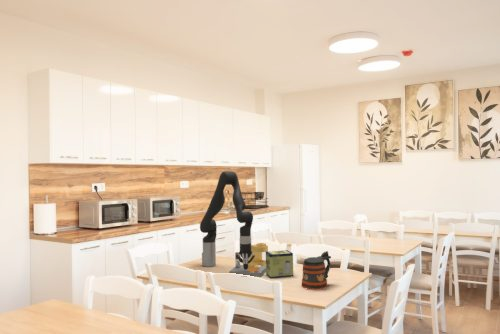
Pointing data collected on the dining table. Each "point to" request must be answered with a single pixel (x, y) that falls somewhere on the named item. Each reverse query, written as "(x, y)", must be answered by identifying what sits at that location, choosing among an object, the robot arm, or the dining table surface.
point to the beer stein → (316, 272)
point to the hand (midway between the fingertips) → (245, 269)
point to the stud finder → (253, 268)
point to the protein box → (279, 264)
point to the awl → (237, 261)
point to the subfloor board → (245, 272)
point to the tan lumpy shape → (258, 254)
